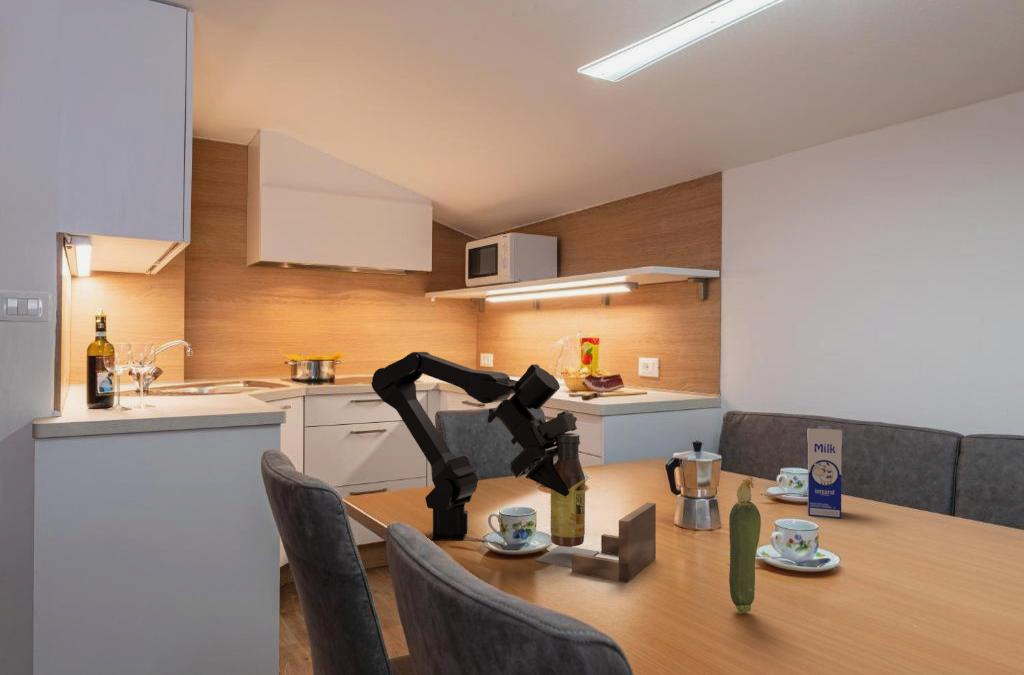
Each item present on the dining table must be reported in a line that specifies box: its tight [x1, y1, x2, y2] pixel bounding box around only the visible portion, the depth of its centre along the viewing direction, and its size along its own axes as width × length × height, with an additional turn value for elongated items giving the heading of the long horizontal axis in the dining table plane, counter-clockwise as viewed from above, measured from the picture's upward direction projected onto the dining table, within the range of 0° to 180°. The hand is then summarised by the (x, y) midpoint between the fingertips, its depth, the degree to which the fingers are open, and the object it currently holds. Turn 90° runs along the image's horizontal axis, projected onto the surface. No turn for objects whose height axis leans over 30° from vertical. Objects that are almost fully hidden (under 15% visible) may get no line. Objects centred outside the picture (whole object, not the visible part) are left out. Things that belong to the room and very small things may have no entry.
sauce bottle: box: [550, 432, 586, 547], centre depth 127 cm, size 7×6×20 cm
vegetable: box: [728, 476, 762, 615], centre depth 102 cm, size 4×4×20 cm
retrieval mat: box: [535, 545, 600, 569], centre depth 127 cm, size 8×10×1 cm
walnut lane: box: [571, 502, 657, 583], centre depth 122 cm, size 10×14×10 cm
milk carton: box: [806, 425, 843, 519], centre depth 159 cm, size 7×7×20 cm
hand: (575, 491), depth 126 cm, fingers closed on sauce bottle, 6 cm apart
